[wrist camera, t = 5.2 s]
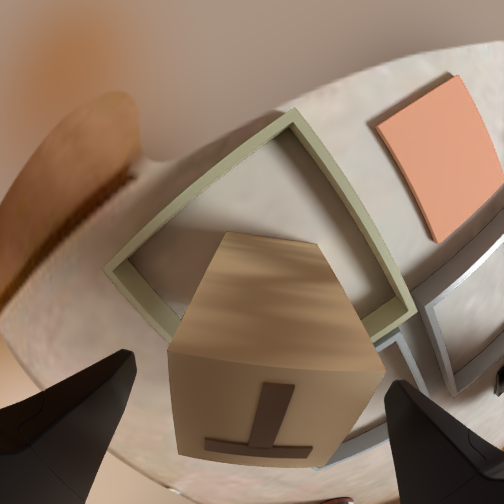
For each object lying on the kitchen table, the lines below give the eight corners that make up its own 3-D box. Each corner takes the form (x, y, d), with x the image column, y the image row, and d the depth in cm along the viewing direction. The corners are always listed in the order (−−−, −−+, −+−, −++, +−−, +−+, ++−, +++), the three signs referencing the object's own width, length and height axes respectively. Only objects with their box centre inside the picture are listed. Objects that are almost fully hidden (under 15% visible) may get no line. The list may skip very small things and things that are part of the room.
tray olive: (404, 296, 16) (417, 311, 14) (246, 389, 19) (244, 409, 17) (290, 114, 13) (294, 106, 11) (117, 257, 16) (101, 269, 14)
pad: (501, 179, 13) (505, 180, 12) (434, 242, 14) (438, 244, 14) (454, 76, 11) (458, 74, 10) (374, 127, 13) (377, 126, 12)
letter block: (317, 244, 15) (387, 373, 5) (299, 321, 16) (323, 469, 7) (226, 231, 15) (166, 352, 5) (218, 310, 16) (177, 456, 7)
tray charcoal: (531, 302, 16) (542, 311, 14) (445, 384, 19) (453, 398, 17) (518, 190, 13) (535, 195, 11) (410, 291, 16) (424, 306, 14)
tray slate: (428, 398, 19) (436, 412, 17) (314, 456, 22) (316, 471, 20) (388, 314, 16) (400, 331, 14) (234, 399, 19) (232, 418, 17)
